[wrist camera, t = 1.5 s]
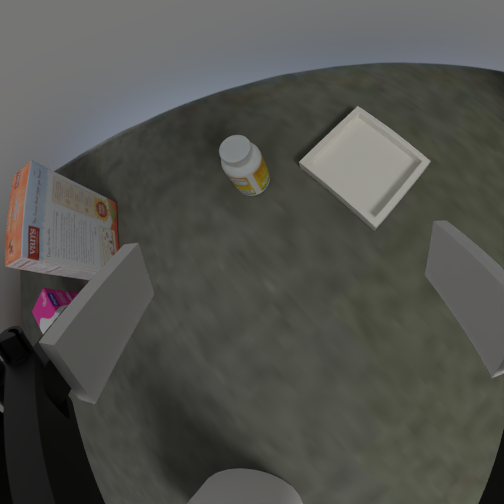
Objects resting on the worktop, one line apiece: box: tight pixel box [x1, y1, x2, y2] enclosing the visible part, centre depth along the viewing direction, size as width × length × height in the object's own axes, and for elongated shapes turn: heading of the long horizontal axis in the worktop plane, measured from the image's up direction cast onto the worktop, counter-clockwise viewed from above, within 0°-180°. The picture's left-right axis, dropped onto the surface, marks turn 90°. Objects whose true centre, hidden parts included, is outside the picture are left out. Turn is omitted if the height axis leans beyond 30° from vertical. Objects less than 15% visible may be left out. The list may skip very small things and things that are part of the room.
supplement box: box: [32, 288, 79, 334], centre depth 40 cm, size 6×6×12 cm
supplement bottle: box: [219, 135, 270, 196], centre depth 37 cm, size 5×5×10 cm
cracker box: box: [5, 160, 119, 280], centre depth 37 cm, size 14×6×21 cm, turn 12°
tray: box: [299, 106, 431, 231], centre depth 37 cm, size 14×14×2 cm
